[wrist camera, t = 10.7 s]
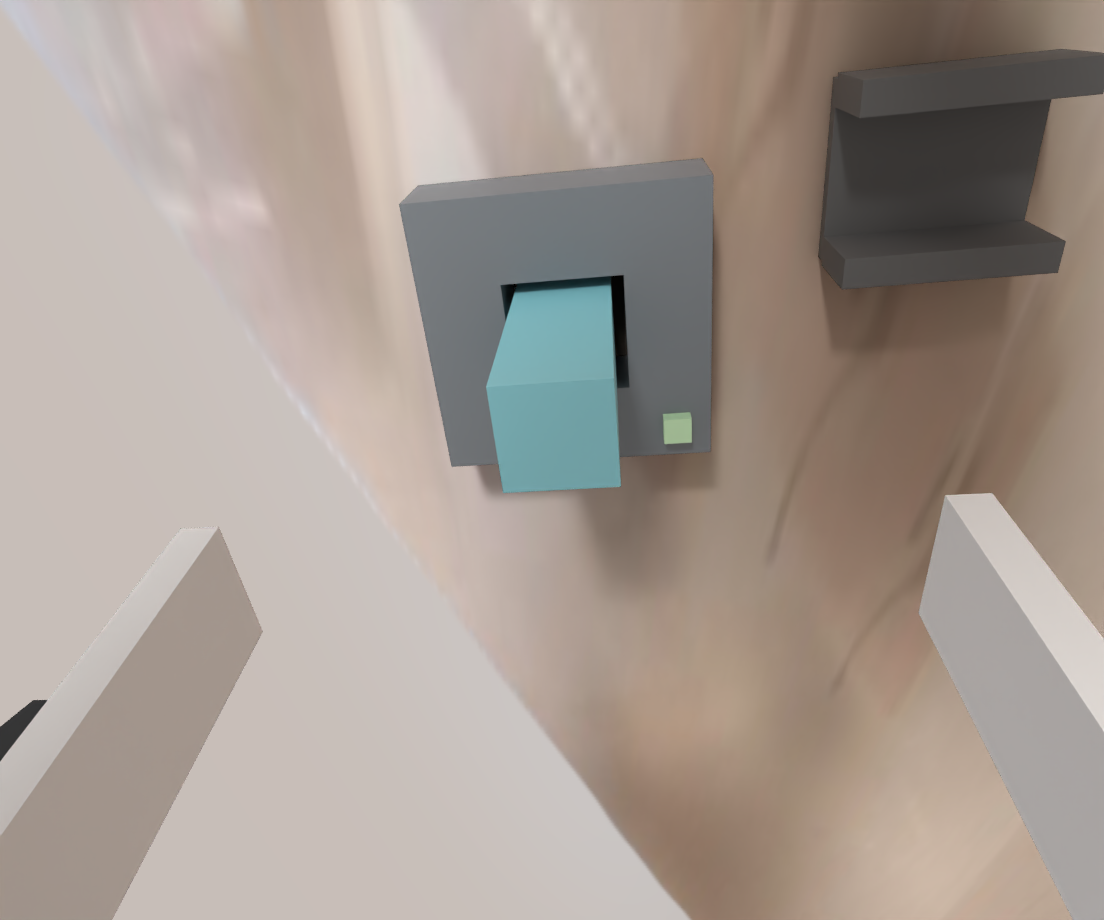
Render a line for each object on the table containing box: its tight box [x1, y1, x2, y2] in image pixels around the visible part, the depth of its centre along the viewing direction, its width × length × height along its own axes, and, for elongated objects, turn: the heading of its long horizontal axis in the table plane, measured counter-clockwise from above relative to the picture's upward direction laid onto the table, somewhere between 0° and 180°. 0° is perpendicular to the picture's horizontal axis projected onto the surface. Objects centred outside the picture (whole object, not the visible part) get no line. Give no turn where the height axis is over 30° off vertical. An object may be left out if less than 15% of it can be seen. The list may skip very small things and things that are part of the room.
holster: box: [818, 49, 1104, 289], centre depth 29 cm, size 7×8×4 cm
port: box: [399, 158, 713, 467], centre depth 33 cm, size 12×12×4 cm
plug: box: [486, 276, 621, 493], centre depth 29 cm, size 4×4×12 cm
